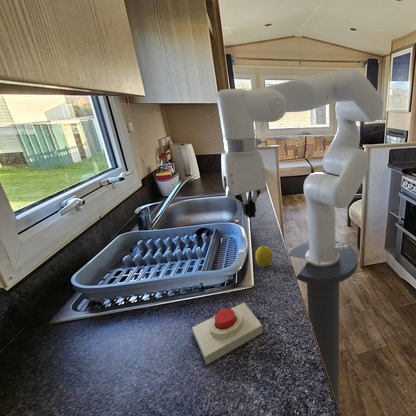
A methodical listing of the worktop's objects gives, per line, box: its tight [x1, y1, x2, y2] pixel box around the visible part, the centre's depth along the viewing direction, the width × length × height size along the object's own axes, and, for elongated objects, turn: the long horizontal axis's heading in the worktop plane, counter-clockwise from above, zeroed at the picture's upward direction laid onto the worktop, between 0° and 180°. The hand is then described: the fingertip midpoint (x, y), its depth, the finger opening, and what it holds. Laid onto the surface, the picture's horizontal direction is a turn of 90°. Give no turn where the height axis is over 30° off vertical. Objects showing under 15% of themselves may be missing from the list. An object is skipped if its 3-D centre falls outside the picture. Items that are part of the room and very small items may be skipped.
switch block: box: [191, 302, 264, 365], centre depth 61 cm, size 13×10×4 cm
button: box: [214, 308, 236, 330], centre depth 60 cm, size 4×4×2 cm
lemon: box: [254, 245, 274, 268], centre depth 86 cm, size 6×6×8 cm
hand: (250, 215), depth 69 cm, fingers closed
